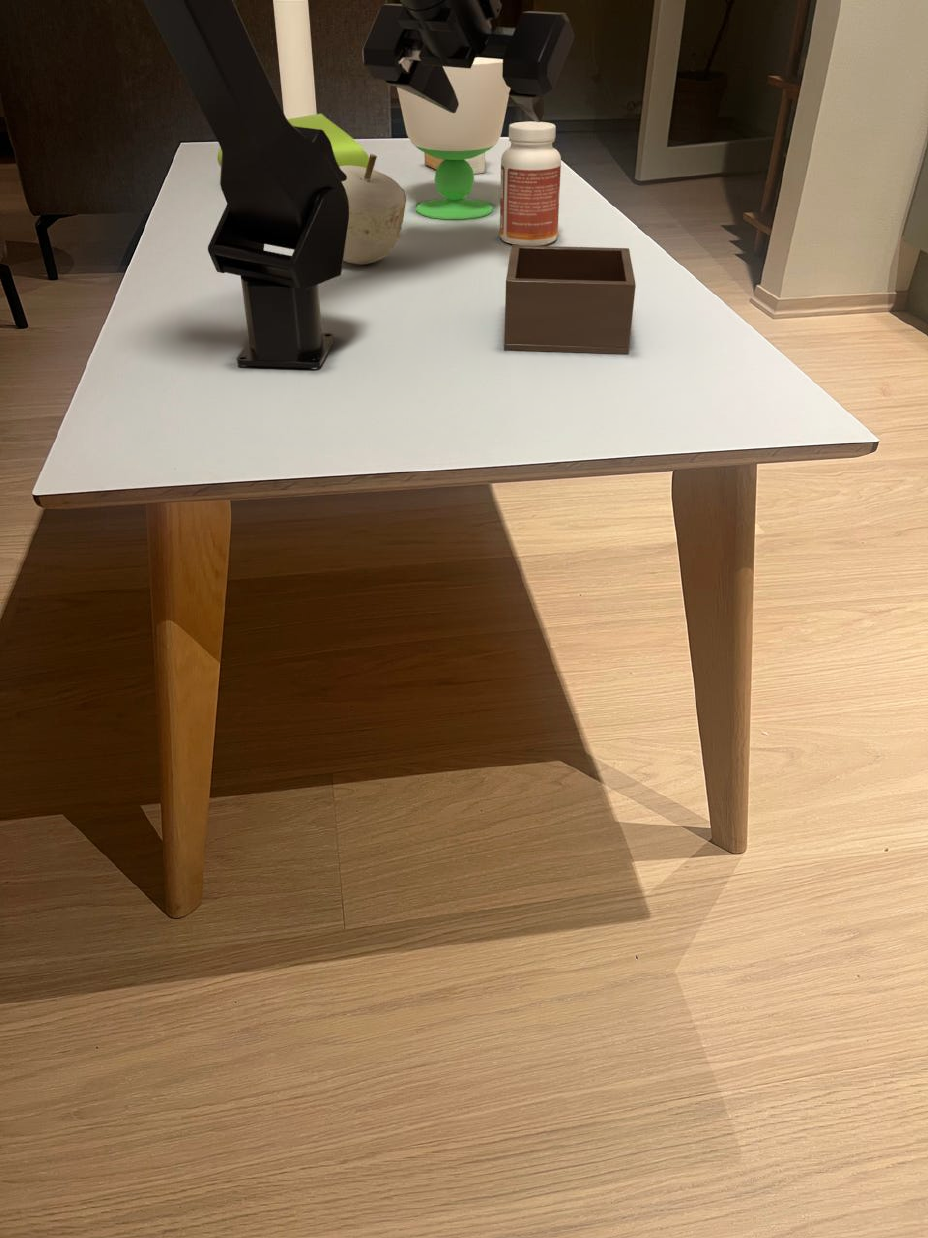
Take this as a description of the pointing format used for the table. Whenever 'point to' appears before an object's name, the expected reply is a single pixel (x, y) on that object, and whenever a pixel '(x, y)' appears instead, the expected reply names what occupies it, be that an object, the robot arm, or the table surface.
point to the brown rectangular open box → (569, 299)
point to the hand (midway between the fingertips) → (497, 112)
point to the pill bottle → (530, 185)
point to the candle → (295, 57)
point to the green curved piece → (331, 140)
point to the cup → (458, 134)
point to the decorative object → (372, 213)
